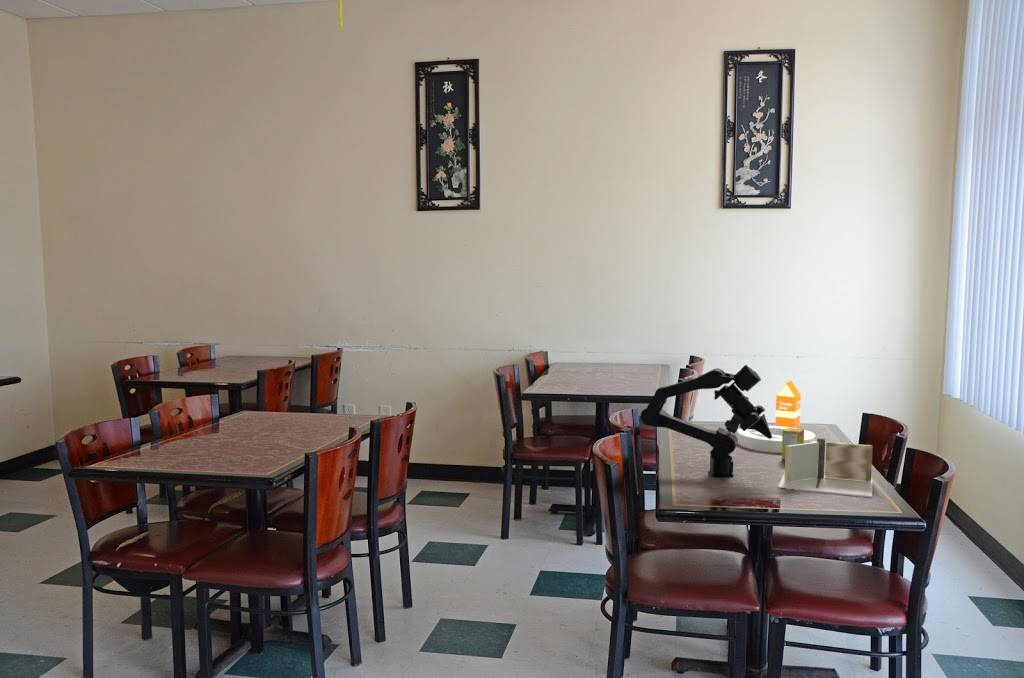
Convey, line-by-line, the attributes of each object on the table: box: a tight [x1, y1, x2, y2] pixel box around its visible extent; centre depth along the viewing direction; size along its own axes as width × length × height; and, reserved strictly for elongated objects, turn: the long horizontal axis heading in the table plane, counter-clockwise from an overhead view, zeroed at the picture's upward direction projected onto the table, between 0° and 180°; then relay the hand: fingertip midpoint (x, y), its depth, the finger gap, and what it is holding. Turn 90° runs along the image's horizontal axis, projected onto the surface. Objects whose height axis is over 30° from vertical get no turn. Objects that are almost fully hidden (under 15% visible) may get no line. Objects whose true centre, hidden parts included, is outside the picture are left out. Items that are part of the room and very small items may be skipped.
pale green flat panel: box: [784, 441, 819, 482], centre depth 271 cm, size 2×13×11 cm, turn 117°
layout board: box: [777, 471, 874, 499], centre depth 269 cm, size 27×21×1 cm
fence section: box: [816, 437, 874, 482], centre depth 272 cm, size 16×2×13 cm, turn 67°
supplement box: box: [781, 428, 805, 462], centre depth 300 cm, size 6×6×11 cm
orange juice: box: [774, 380, 801, 429], centre depth 352 cm, size 8×9×20 cm
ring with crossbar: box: [731, 425, 817, 454], centre depth 326 cm, size 28×28×5 cm
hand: (771, 438), depth 274 cm, fingers closed
